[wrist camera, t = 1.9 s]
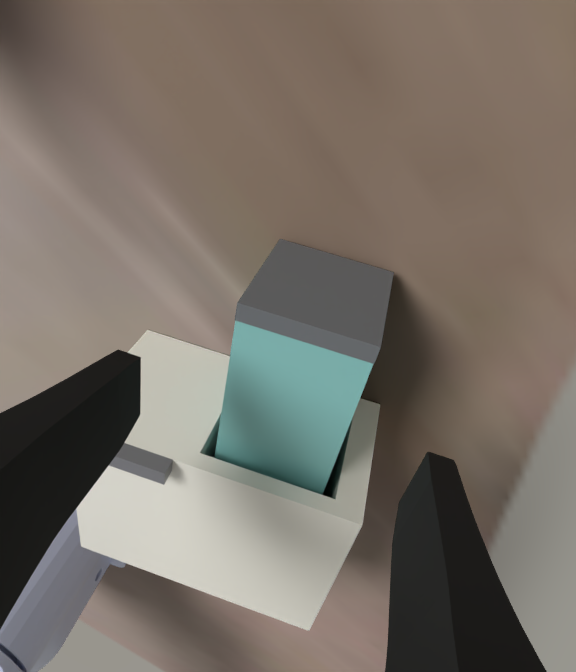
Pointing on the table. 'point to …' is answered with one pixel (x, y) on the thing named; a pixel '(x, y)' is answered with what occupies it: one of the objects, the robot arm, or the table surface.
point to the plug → (300, 362)
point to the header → (222, 496)
